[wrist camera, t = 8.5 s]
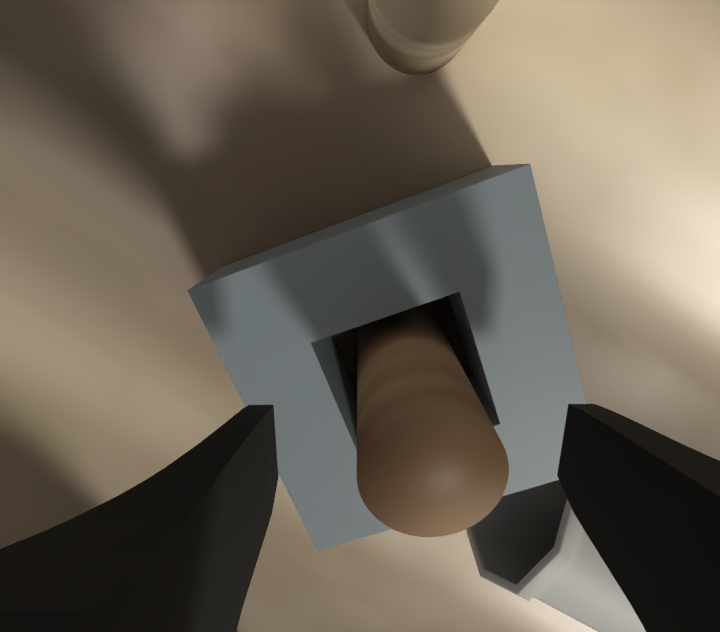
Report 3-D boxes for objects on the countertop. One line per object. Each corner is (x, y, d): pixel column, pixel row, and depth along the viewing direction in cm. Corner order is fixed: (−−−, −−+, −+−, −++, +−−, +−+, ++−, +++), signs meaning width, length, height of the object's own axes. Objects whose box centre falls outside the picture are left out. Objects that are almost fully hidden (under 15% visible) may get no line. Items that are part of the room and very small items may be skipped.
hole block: (324, 484, 19) (317, 550, 16) (223, 266, 16) (187, 290, 13) (556, 412, 18) (601, 467, 15) (492, 165, 15) (529, 163, 12)
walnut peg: (344, 319, 17) (331, 442, 9) (423, 286, 16) (480, 385, 9) (377, 390, 18) (391, 555, 10) (453, 360, 17) (528, 508, 10)
